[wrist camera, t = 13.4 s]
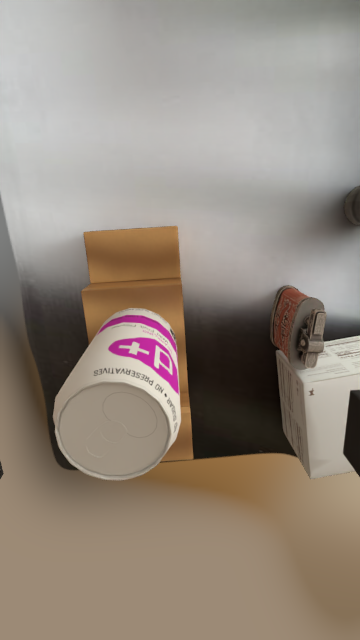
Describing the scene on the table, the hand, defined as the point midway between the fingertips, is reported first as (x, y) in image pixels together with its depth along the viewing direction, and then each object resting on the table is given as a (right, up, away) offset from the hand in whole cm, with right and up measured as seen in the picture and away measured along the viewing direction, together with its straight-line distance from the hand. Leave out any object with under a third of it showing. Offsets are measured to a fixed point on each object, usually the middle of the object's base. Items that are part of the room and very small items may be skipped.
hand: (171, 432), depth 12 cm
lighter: (+14, +5, +30) cm, 33 cm away
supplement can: (-4, +2, +22) cm, 23 cm away
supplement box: (+22, -4, +33) cm, 40 cm away
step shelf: (-4, +4, +30) cm, 30 cm away
